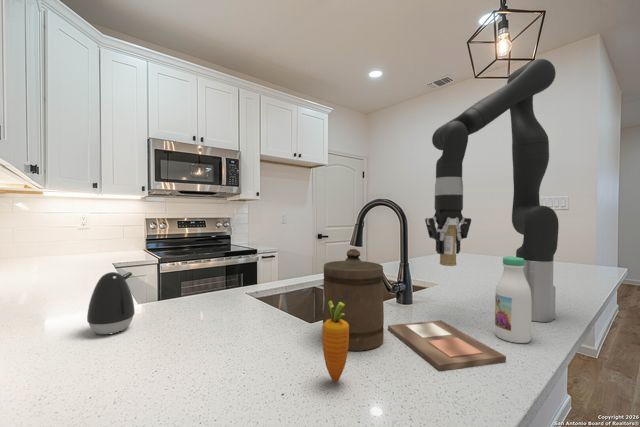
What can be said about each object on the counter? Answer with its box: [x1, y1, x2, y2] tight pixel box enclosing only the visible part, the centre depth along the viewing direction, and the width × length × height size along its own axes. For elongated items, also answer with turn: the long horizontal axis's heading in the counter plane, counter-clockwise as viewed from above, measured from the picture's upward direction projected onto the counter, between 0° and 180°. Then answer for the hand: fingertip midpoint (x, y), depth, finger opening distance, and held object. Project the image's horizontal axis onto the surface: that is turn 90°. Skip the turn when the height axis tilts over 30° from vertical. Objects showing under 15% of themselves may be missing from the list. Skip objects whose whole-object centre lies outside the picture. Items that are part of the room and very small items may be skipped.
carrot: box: [321, 301, 349, 383], centre depth 57 cm, size 5×5×15 cm
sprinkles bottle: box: [439, 218, 457, 267], centre depth 90 cm, size 5×5×14 cm
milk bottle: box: [494, 256, 532, 344], centre depth 78 cm, size 8×8×20 cm
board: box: [387, 320, 507, 372], centre depth 74 cm, size 16×22×2 cm
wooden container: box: [322, 248, 385, 352], centre depth 77 cm, size 15×15×22 cm
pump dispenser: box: [86, 271, 136, 335], centre depth 81 cm, size 10×10×15 cm
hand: (447, 253), depth 90 cm, fingers closed on sprinkles bottle, 4 cm apart
